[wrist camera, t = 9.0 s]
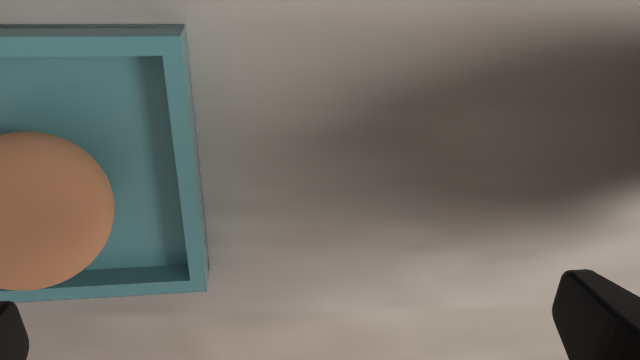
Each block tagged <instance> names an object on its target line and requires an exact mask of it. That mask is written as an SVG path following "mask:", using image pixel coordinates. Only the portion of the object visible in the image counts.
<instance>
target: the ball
mask: <svg viewBox="0 0 640 360" xmlns="http://www.w3.org/2000/svg"><path fill="white" fill-rule="evenodd" d="M114 211H115V207H114V196H113V192H112V189H111V185H110V183H109V180H108V178H107V176H106V174H105V173H104V171H103V169H102V168H101V167H100V166H99V164H98V163H97V162H96V161H95V159H94V158H93V157H92V156H91V155H90V154H89V153H87V152H86V151H85V150H83V149H82V148H81V147H79V146H77V145H76V144H74V143H72V142H70V141H68V140H66V139H64V138H61V137H58V136H55V135H51V134H47V133H41V132H29V131H20V132H11V133H6V134H1V135H0V289H5V290H16V291H23V290H37V289H42V288H47V287H50V286H53V285H56V284H59V283H61V282H64V281H66V280H68V279H70V278H71V277H73V276H75V275H76V274H78V273H79V272H81V271H82V270H83V269H84V268H86V267H87V266H88V265H89V264H90V263H91V262H92V261H93V260H94V259H95V258H96V257H97V256H98V254H99V253H100V252H101V250H102V249H103V247H104V245H105V244H106V242H107V239H108V237H109V235H110V232H111V229H112V225H113V220H114Z"/></svg>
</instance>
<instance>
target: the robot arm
mask: <svg viewBox="0 0 640 360" xmlns="http://www.w3.org/2000/svg"><path fill="white" fill-rule="evenodd" d="M552 315H553V319H554V322H555V325H556V327H557V330H558V333H559V335H560V338H561V340H562V343H563V345H564V348H565V350H566V353H567V355H568V358H569V360H640V297H638V296H637V295H635V294H633V293H631V292H629V291H628V290H626V289H624V288H622V287H621V286H619V285H617V284H615V283H613V282H612V281H610V280H608V279H606V278H604V277H603V276H601V275H599V274H597V273H595V272H594V271H591V270H587V269H583V270H568V271H566V272H564V274H563V275H562V277H561V280H560V283H559V286H558V289H557V293H556V296H555V299H554V303H553V307H552ZM28 351H29V339H28V335H27V332H26V330H25V327H24V324H23V322H22V319H21V316H20V313H19V311H18V308H17V306H16V305H15V303H14V302H12V301H0V360H26V359H27V355H28Z"/></svg>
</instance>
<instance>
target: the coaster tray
mask: <svg viewBox="0 0 640 360" xmlns="http://www.w3.org/2000/svg"><path fill="white" fill-rule="evenodd" d="M20 131H29V132H41V133H47V134H51V135H55V136H58V137H61V138H64V139H66V140H68V141H70V142H72V143H74V144H76V145H77V146H79V147H81V148H82V149H83V150H85V151H86V152H87V153H89V154H90V155H91V156H92V157H93V158H94V159H95V161H96V162H97V163H98V164H99V166H100V167H101V168H102V169H103V171H104V173H105V174H106V176H107V178H108V180H109V183H110V185H111V189H112V192H113V196H114V207H115V211H114V220H113V225H112V229H111V232H110V235H109V237H108V239H107V242H106V244H105V245H104V247H103V249H102V250H101V252H100V253H99V254H98V256H97V257H96V258H95V259H94V260H93V261H92V262H91V263H90V264H89V265H88V266H87V267H86V268H84V269H83V270H82V271H81V272H79V273H78V274H76V275H75V276H73V277H71V278H70V279H68V280H66V281H64V282H61V283H59V284H56V285H53V286H50V287H47V288H42V289H37V290H23V291H16V290H5V289H0V301H12V302H14V303H17V302H34V301H50V300H67V299H84V298H101V297H118V296H135V295H152V294H168V293H185V292H202V291H207V284H208V274H209V261H208V250H207V240H206V230H205V220H204V210H203V200H202V190H201V180H200V170H199V159H198V149H197V139H196V129H195V119H194V109H193V99H192V89H191V79H190V68H189V58H188V48H187V38H186V28H185V24H72V25H0V135H1V134H6V133H11V132H20Z"/></svg>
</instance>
